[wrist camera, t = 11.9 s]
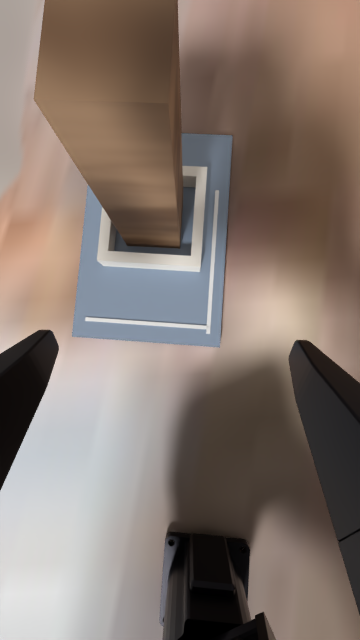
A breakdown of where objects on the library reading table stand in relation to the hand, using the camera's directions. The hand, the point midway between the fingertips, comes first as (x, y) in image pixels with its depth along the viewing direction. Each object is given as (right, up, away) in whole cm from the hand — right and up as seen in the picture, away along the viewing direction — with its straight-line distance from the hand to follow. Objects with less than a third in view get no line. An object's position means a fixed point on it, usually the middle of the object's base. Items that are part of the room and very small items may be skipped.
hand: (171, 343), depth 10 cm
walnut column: (-2, +9, +12) cm, 15 cm away
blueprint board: (-2, +8, +13) cm, 15 cm away
